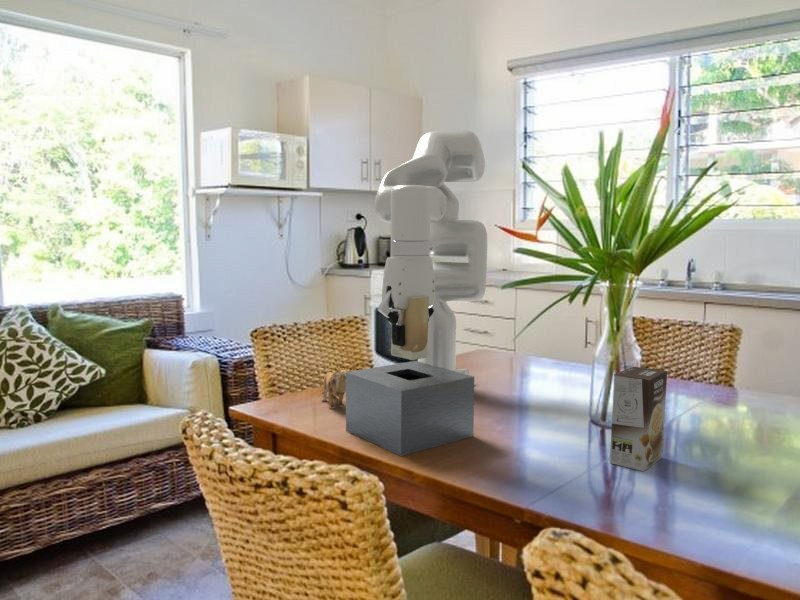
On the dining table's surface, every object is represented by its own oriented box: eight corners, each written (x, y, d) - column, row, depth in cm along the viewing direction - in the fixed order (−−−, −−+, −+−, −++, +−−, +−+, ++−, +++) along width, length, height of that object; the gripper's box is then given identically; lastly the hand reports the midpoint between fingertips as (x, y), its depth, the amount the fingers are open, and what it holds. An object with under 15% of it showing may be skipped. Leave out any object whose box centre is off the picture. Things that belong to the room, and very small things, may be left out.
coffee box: (645, 472, 114) (650, 380, 112) (608, 463, 118) (612, 374, 116) (663, 457, 121) (668, 370, 119) (628, 449, 125) (632, 365, 123)
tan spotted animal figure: (357, 410, 149) (357, 370, 148) (335, 413, 147) (334, 373, 146) (332, 394, 162) (331, 358, 161) (311, 397, 160) (310, 360, 159)
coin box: (415, 414, 146) (415, 360, 145) (473, 436, 132) (474, 376, 130) (346, 430, 135) (345, 372, 134) (401, 456, 121) (401, 391, 119)
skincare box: (390, 356, 132) (390, 294, 131) (405, 353, 135) (406, 292, 134) (413, 361, 128) (413, 297, 126) (429, 357, 131) (429, 295, 129)
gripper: (430, 248, 137) (430, 336, 139) (362, 250, 127) (362, 345, 129) (455, 250, 131) (454, 341, 133) (386, 252, 121) (386, 351, 123)
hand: (409, 342), depth 131 cm, fingers closed on skincare box, 4 cm apart
